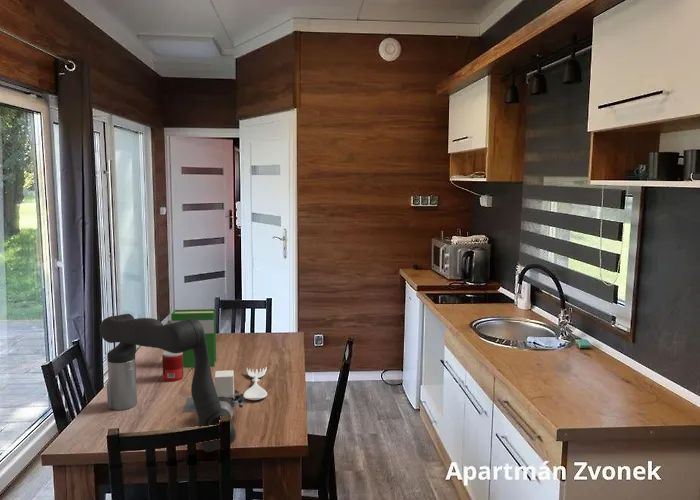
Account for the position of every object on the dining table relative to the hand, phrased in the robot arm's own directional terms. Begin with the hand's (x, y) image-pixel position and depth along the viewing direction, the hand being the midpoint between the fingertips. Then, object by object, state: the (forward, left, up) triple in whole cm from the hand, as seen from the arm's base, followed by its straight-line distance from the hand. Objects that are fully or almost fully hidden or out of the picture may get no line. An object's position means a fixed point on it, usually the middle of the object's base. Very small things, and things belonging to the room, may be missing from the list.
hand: (223, 393), depth 193 cm
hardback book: (-15, +51, -7) cm, 53 cm away
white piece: (+11, +20, -7) cm, 24 cm away
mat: (-5, +6, -6) cm, 10 cm away
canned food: (-22, +35, -7) cm, 41 cm away
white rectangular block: (0, +6, -6) cm, 8 cm away
